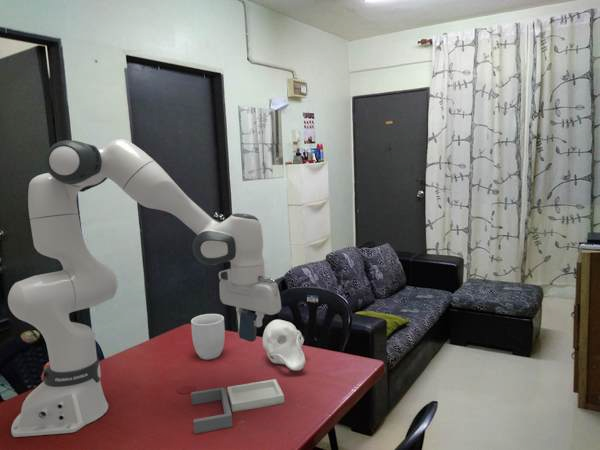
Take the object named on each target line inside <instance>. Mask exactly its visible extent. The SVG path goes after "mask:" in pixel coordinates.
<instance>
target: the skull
mask: <svg viewBox="0 0 600 450" xmlns="http://www.w3.org/2000/svg"><path fill="white" fill-rule="evenodd" d="M304 341H305V338H304V337H303V335H302V332H301V331H300V330H298V329H297V328H296V326H295V325H294V324H293V323H292V322H290V321H286V320H282V319H274V320H272V321H270V322H269V323H268V324H267V325H266V326H265V329H264V331H263V334H262V347H263V349H264V350H265V351H266V355H267V357H268V359H269V360H270V362H271V363H273V364H276V365H277V364H278V365H279V364H280V365H285V366H286V367H287V368H288V369H290V370H291V371H301V370H302V369H303V368H304V366H305V364H306V357H305V354H304V352H303V349H302V346H303V344H304Z"/></svg>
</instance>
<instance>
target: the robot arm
mask: <svg viewBox="0 0 600 450" xmlns="http://www.w3.org/2000/svg"><path fill="white" fill-rule="evenodd" d="M44 164H45V168H46V170H47V172H46V173H42V174H39V175H36V176H35V177H33V178H32V179H31V180H30V182H29V184H28V193H27V195H28V196H27V199H28V200H27V201H28V204H27V207H28V216H29V222H30V228H31V229H30V230H31V235H32V240H33V241H32V242H33V246H34V247H33V248H35V250H36V251H37V253H39V254H41V255H42V256H44V257H45V256H46V257H48V258H51V259H56V260H58V261H59V262H60V263H61V266H62V270H58V271H54V272H48V273H41V274H37V275H36V274H35V275H33V276H30V277H27V278H24V279H22V280H19V281H16V282H15V283H14V284H12V286H11V288H10V290H9V293H8V294H7V295H8V296H7V304H8V309H9V311H10V312H11V313H12V314H13V316H15V318H17V319H18V320H21V322H24V323H25V322H26V323H28V324H30V325H31V326H32V327H34V328H35V329H37V330H38V331H39V332H40V334H41V335H42V337H43V339H44V341H45V343H46V348H47V354H48V360H49V361H48V362H47V363H46V364H45V365H44V366H43V370H42V373H41V377H40V378H41V381H42V382H41V383H40V384H38V386H36V387H35V389H33V390H32V391H30V393H29V394H28V395H27V396H26V398H25V400H24V401H23V402H22V404H21V409H20V410H21V411H20V413H19V414H18V415H17V416H16V417H15V418H14V420H13V421H12V424H11V429H10V430H11V431H10V433H11V434H10V435H11V436H12V437H13V438H19V437H21V438H22V437H33V436H34V437H35V436H44V435H47V436H48V435H59V434H71V433H75V432H78V431H79V430H81V429H82V428H83V427H85V426H87V425H88V424H91V423H93V422H95V421H96V420H98V419H100V418H101V417H102V416H104V414H106V413H107V411H108V409H109V403H108V402H107V399H106V397H105V394H104V391H103V387H102V382H101V378H102V373H101V365H100V360H99V359H100V358H99V357H98V356H97V355H98V354H97V346H96V345H97V344H96V338H95V333H94V331H93V329H92V328H91V327H90V326H89V325H87V324H83V323H79V322H75V321H71V320H70V313H73V312H77V311H81V310H85V309H89V308H93V307H97V306H100V305H102V304H103V303H105V302H108V301H110V300H112V299H114V297H115V295H116V293H117V291H118V284H119V283H118V278H117V276H116V273H115V272H114V271H113V270H112V269H111V268H110V267H109V266H108V265H106V264H103V263H102V262H100V261H99V260H98V259H96V258H95V257H94V255H92V253H91V252H90V250H89V249H88V247H87V245H86V243H85V240H84V236H83V233H82V227H81V222H80V216H79V211H78V210H79V209H78V203H77V197H78V193H79V192H86V191H87V190H90V189H92V188H95V187H97V186H100V185H101V184H103V183H105V181H107V180H111V181H112V182H113V183H115V184H116V185H117V186H118V187H119V188H120V189H121V190H122V191H123V192H124V193H125V194H126V195H127V196H128V197H129V198H130V199H132V200H134V201H135V202H136V203H138V204H140V205H141V206H143V207H145V208H148V209H151V210H152V209H153V210H159V211H164V212H166V213H168V214H169V213H170V214H172V215H173V216H175V218H177V219H179V220H180V221H181V222H182V223H183V224H184V225H186V226H187V227H188V228H189V229H190V230H192V231H193V232H194V233H195V234H196V236H195V237H194V239H193V242H192V252H193V254H194V257H195V259H197V260H198V261H199V262H200V263H202V264H203V265H206V266H215V265H219V264H224V263H228V262H230V267H229V268H228V269H224V270H221V271H219V272H218V278H219V287H218V288H219V299H220V301H221V303H222V304H224V305H227V306H232V307H235V311H236V314H238V317H239V318H240V315H241V312H242V309H243V308H244V309H248V310H252V311H256V315H257V318H256V320H253V321H254V326H255V327H257V328H260V327H262V326H263V319H264V317H265V315H268V316H269V315H270V316H273V315H275V314H276V315H277V314H278V313H280V311H281V310H282V301H281V300H282V299H281V295H280V289H279V284H278V283H277V281H276V280H274V278H272V277H266V275H265V274H266V271H265V259H264V257H263V250H264V237H263V230H262V224H261V222H260V220H259V219H258V217H257V216H255V215H252V214H247V213H232V214H231V215H230V216H229V217H227V218H225V219H224V220H223V221H221V220H219V219H218V220H217V219H215V218H213V217H212V216H211V215H210V214H209V213H208V212H206V211H205V210H204V209H203V207H200V206H199V204H197V203H196V202H195V201H194V200H192V198H190V197H189V196H188V195H187V194H186V193H185V192H184V191H183V190H182V188H180V187H179V185H178V184H177V183H176V182H175V180H173V179H172V177H170V175H169V174H168V173H167V172H166V170H164V169H163V167H161V165H160V164H159V163H157V161H156V160H154V159H153V157H152V156H149V154H148V153H146V152H145V151H144V150H142V149H141V148H140V147H138V146H137V145H135V144H134V143H132V142H131V141H129V140H128V139H126V138H125V139H124V138H117V139H114V140H111V141H110V142H108V143H107V144H106V145H104V146H103V147H102V148H97V146H95V145H92V144H89V143H87V142H86V143H85V142H82V141H79V140H72V139H71V140H70V139H68V140H67V139H66V140H61V141H58V142H56V143H54V144H53V145H51V146H50V147H49V149H48V150H47V151H46V153H45V158H44Z"/></svg>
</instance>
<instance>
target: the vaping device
mask: <svg viewBox="0 0 600 450" xmlns="http://www.w3.org/2000/svg"><path fill="white" fill-rule="evenodd" d="M256 318H257V315H256V311H252V310H248V309H244V308H243V309H242V312H241V315H240V317H239V325H238V326H239V328H238V336H239V339H242V340H245V341H248V342H251V343H252V342H255V341H256V340H257V330H258V327H255V326H254V321H253V320H256Z"/></svg>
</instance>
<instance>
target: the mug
mask: <svg viewBox="0 0 600 450" xmlns="http://www.w3.org/2000/svg"><path fill="white" fill-rule="evenodd" d="M190 325H191V338H192V339H191V340H192V343H193V347H194V350H195V352H196V354H197V355H198V357H199V358H200V359H202V360H207V361H208V360H214V359H217V358H219V357H220V355H221V354H222V352H223V350H224V345H225V336H226V333H225V332H226V331H225V317H224V316H223V315H222V314H219V313H205V314H200V315H197V316H195V317H193V318H192V319H191V320H190Z"/></svg>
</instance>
